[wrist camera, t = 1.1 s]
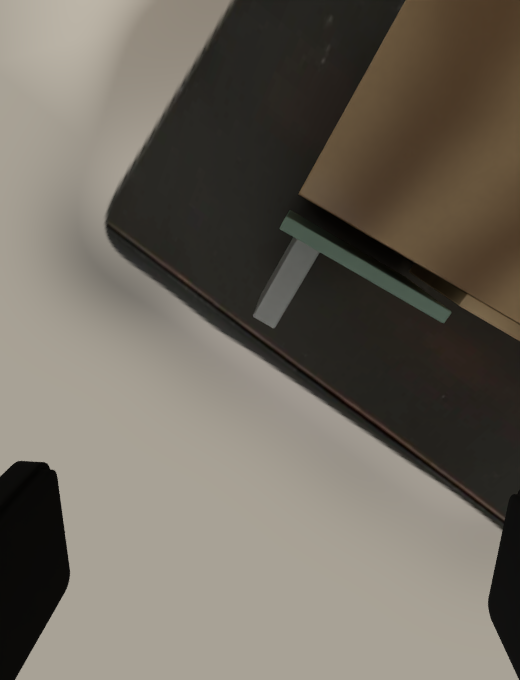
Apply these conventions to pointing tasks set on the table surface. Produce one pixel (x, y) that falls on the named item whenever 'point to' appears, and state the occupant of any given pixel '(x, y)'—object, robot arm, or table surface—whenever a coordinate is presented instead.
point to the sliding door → (318, 240)
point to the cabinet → (438, 152)
